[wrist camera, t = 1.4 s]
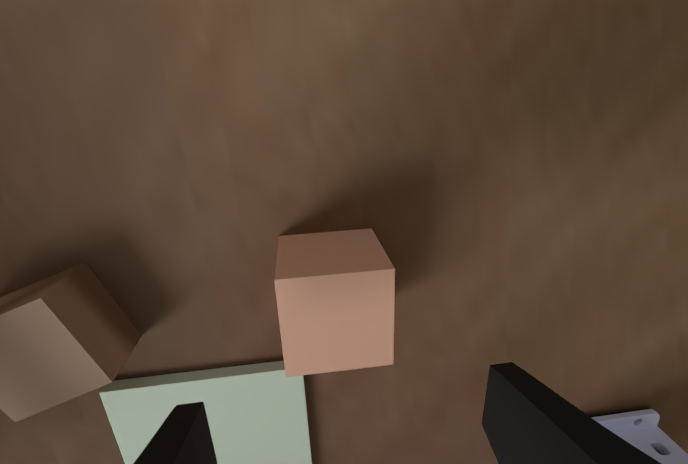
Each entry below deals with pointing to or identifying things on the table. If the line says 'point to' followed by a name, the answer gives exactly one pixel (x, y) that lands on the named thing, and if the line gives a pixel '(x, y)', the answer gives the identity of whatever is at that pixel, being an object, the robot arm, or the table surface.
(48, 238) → the table surface
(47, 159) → the table surface
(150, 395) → the base tile
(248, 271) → the table surface
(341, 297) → the terracotta brick
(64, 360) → the walnut brick
